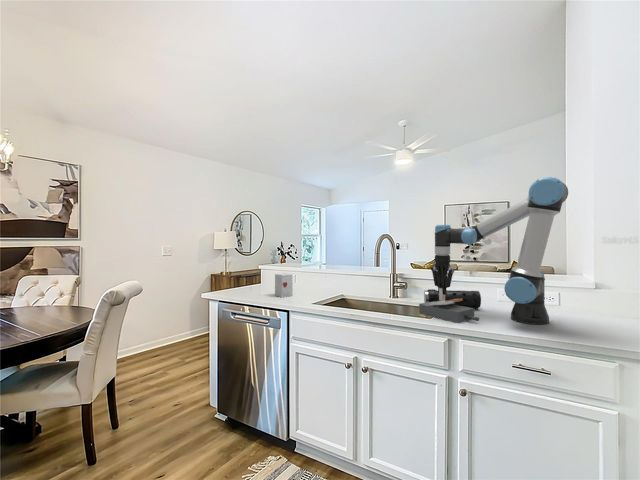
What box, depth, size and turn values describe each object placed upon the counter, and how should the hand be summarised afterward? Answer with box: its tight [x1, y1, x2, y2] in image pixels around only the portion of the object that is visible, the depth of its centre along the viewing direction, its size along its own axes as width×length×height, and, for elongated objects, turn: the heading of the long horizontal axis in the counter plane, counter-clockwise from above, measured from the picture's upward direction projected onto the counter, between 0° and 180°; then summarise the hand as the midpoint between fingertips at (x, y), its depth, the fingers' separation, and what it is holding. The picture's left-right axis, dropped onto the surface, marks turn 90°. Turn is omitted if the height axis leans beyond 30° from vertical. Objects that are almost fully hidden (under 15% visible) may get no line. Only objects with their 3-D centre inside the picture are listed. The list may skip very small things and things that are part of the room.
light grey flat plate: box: [429, 301, 454, 305], centre depth 159 cm, size 10×6×1 cm, turn 32°
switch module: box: [418, 301, 480, 324], centre depth 158 cm, size 28×13×6 cm, turn 32°
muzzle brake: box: [423, 288, 482, 310], centre depth 177 cm, size 10×28×10 cm, turn 78°
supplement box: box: [274, 272, 293, 298], centre depth 220 cm, size 9×9×15 cm
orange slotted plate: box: [444, 298, 463, 302], centre depth 163 cm, size 10×6×1 cm, turn 32°
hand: (442, 300), depth 167 cm, fingers closed
